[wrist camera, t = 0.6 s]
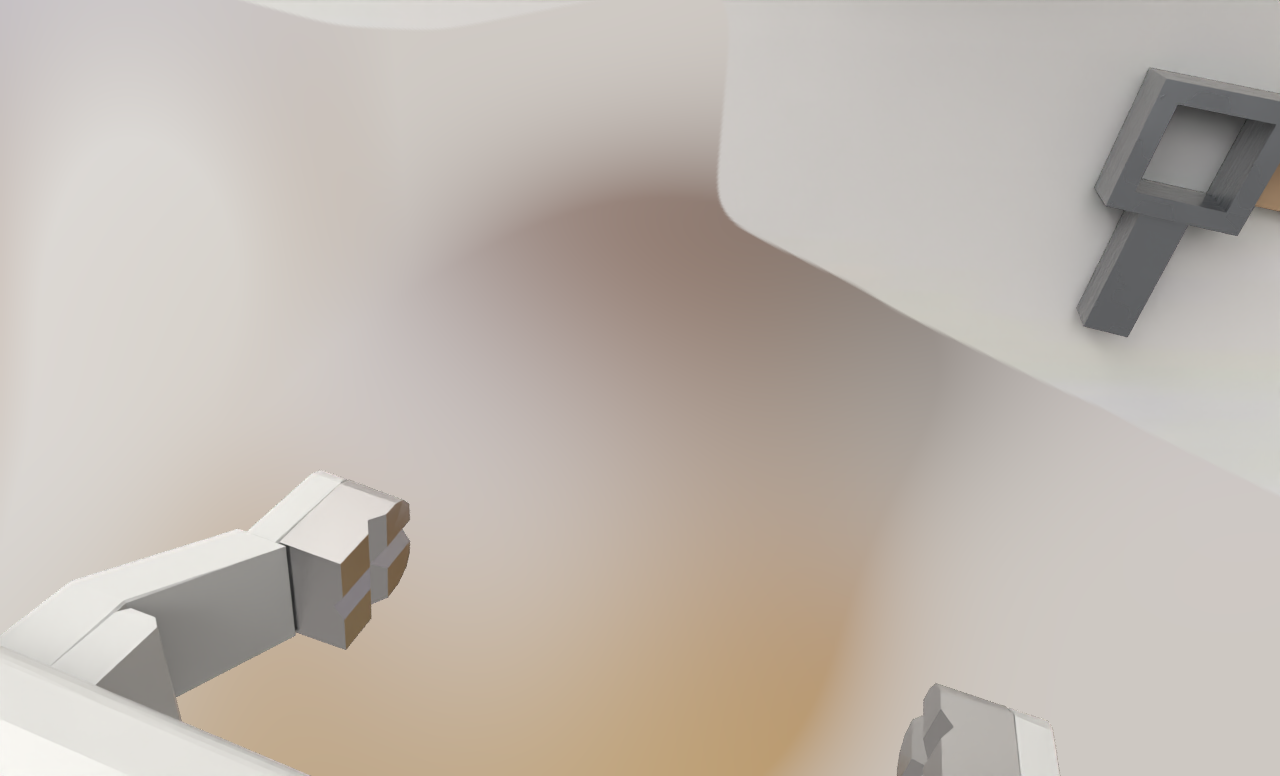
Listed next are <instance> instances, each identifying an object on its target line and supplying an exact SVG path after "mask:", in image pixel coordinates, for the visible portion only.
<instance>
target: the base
mask: <svg viewBox="0 0 1280 776" xmlns="http://www.w3.org/2000/svg"><path fill="white" fill-rule="evenodd" d="M1255 206H1257V207H1262V208H1266V209H1271V210H1275V211H1280V163H1279V165H1278V167H1277V168H1276V170H1275V172H1274V174H1273V175H1272V177H1271V179H1270V180H1269V182H1268V184H1267V186H1266V187H1265V189H1264V191H1263V193H1262V194H1261V196H1260V198H1259V199H1258V201H1257V203H1256V205H1255Z"/></svg>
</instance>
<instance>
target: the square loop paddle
mask: <svg viewBox="0 0 1280 776" xmlns="http://www.w3.org/2000/svg"><path fill="white" fill-rule="evenodd" d="M1177 105H1183V106H1188V107H1193V108H1198V109H1203V110H1208V111H1212V112H1217V113H1222V114H1227V115H1232V116H1237V117H1242V118H1247V120H1246V122H1245V124H1244V125H1243V127H1242V129H1241V131H1240V133H1239V135H1238V136H1237V138H1236V140H1235V142H1234V144H1233V146H1232V148H1231V149H1230V151H1229V153H1228V155H1227V157H1226V159H1225V160H1224V162H1223V164H1222V166H1221V168H1220V170H1219V171H1218V173H1217V175H1216V177H1215V179H1214V181H1213V182H1212V184H1211V186H1210V188H1209V190H1208V192H1207V193H1204V192H1199V191H1195V190H1190V189H1186V188H1181V187H1177V186H1172V185H1168V184H1163V183H1158V182H1154V181H1149V180H1145V179H1141V178H1142V176H1143V174H1144V172H1145V170H1146V168H1147V166H1148V164H1149V162H1150V160H1151V158H1152V156H1153V154H1154V152H1155V150H1156V148H1157V146H1158V144H1159V142H1160V140H1161V138H1162V136H1163V134H1164V132H1165V130H1166V128H1167V126H1168V124H1169V122H1170V120H1171V118H1172V116H1173V114H1174V112H1175V110H1176V107H1177ZM1279 163H1280V93H1275V92H1270V91H1264V90H1259V89H1254V88H1249V87H1244V86H1239V85H1234V84H1229V83H1224V82H1219V81H1214V80H1209V79H1204V78H1199V77H1194V76H1189V75H1184V74H1179V73H1174V72H1169V71H1164V70H1159V69H1154V68H1149V70H1148V72H1147V74H1146V77H1145V79H1144V81H1143V83H1142V85H1141V87H1140V90H1139V92H1138V94H1137V96H1136V98H1135V100H1134V102H1133V105H1132V107H1131V109H1130V111H1129V113H1128V115H1127V118H1126V120H1125V122H1124V124H1123V126H1122V128H1121V130H1120V133H1119V135H1118V137H1117V139H1116V141H1115V143H1114V146H1113V148H1112V150H1111V152H1110V154H1109V156H1108V159H1107V161H1106V163H1105V165H1104V167H1103V169H1102V171H1101V174H1100V176H1099V178H1098V180H1097V182H1096V184H1095V187H1094V188H1095V190H1096V191H1097V193H1098V195H1099V196H1100V198H1101V199H1102V201H1103V203H1104V204H1105V206H1109V207H1113V208H1117V209H1122V210H1125V211H1124V213H1123V215H1122V217H1121V219H1120V221H1119V223H1118V225H1117V227H1116V229H1115V231H1114V233H1113V235H1112V237H1111V239H1110V241H1109V243H1108V245H1107V247H1106V249H1105V251H1104V253H1103V255H1102V257H1101V259H1100V261H1099V263H1098V265H1097V267H1096V270H1095V272H1094V274H1093V276H1092V278H1091V280H1090V282H1089V284H1088V286H1087V288H1086V290H1085V292H1084V294H1083V296H1082V298H1081V300H1080V302H1079V304H1078V306H1077V311H1078V313H1079V316H1080V318H1081V321H1082V323H1083V326H1085V327H1089V328H1093V329H1097V330H1101V331H1105V332H1109V333H1113V334H1117V335H1121V336H1124V337H1128V335H1129V334H1130V332H1131V330H1132V328H1133V326H1134V324H1135V322H1136V321H1137V319H1138V317H1139V315H1140V313H1141V311H1142V310H1143V308H1144V306H1145V304H1146V302H1147V300H1148V299H1149V297H1150V295H1151V293H1152V291H1153V289H1154V287H1155V286H1156V284H1157V282H1158V280H1159V278H1160V276H1161V275H1162V273H1163V271H1164V269H1165V267H1166V265H1167V263H1168V262H1169V260H1170V258H1171V256H1172V254H1173V252H1174V251H1175V249H1176V247H1177V245H1178V243H1179V241H1180V240H1181V238H1182V236H1183V234H1184V232H1185V230H1186V228H1187V227H1188V225H1191V226H1196V227H1200V228H1204V229H1209V230H1213V231H1218V232H1222V233H1226V234H1231V235H1235V236H1238V234H1239V232H1240V230H1241V229H1242V227H1243V225H1244V223H1245V222H1246V220H1247V218H1248V217H1249V215H1250V213H1251V211H1252V210H1253V208H1254V206H1255V205H1256V203H1257V201H1258V199H1259V198H1260V196H1261V194H1262V193H1263V191H1264V189H1265V187H1266V186H1267V184H1268V182H1269V180H1270V179H1271V177H1272V175H1273V174H1274V172H1275V170H1276V168H1277V167H1278V165H1279Z"/></svg>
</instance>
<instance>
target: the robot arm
mask: <svg viewBox="0 0 1280 776" xmlns="http://www.w3.org/2000/svg"><path fill="white" fill-rule="evenodd" d="M409 520H410V514H409V503H407V502H406V501H404V500H402V499H399V498H396V497H394V496H391V495H388V494H386V493H383V492H381V491H378V490H375V489H373V488H370V487H367V486H365V485H362V484H359V483H357V482H354V481H351V480H347V479H345V478H342V477H339V476H337V475H334V474H331V473H329V472H326V471H323V470H320V471H317V472H314V473H312V474H310V475H309V476H308V477H307V478H306V479H305V480H304V481H303V482H301V483H300V485H298V486H297V487H296V488H295V489H294V490H293V491H291V492H290V493H289V494H288V495H287V496H286V497H285V498H284V499H283V500H281V501H280V502H279V503H278V504H277V505H276V506H275V507H274V508H273V509H271V510H270V511H269V512H268V513H267V514H266V515H265V516H263V517H262V518H261V519H260V520H259V521H258V522H257V523H256V524H255V525H253V526H252V527H251V528H250V529H249V530H248V531H247V532H246V531H243V530H240V529H236V530H233V531H230V532H226V533H224V534H220V535H217V536H214V537H210V538H207V539H204V540H201V541H198V542H194V543H191V544H188V545H185V546H181V547H178V548H175V549H172V550H169V551H166V552H162V553H159V554H156V555H152V556H149V557H146V558H143V559H140V560H137V561H134V562H130V563H127V564H124V565H120V566H117V567H114V568H111V569H108V570H104V571H101V572H98V573H95V574H91V575H89V576H85V577H82V578H79V579H75V580H72V581H70V582H69V583H68V584H66V585H65V586H64V587H62V588H61V589H60V590H58V591H57V592H56V593H55V594H53V595H52V596H51V597H49V598H48V599H47V600H45V601H44V602H43V603H41V604H40V605H39V606H38V607H36V608H35V609H34V610H33V611H31V612H30V613H28V614H27V615H26V616H25V617H23V618H22V619H21V620H19V621H18V622H17V623H16V624H14V625H13V626H12V627H10V628H9V629H8V630H6V631H5V632H4V633H2V634H1V635H0V776H310V775H308V774H306V773H303V772H301V771H298V770H296V769H294V768H291V767H289V766H287V765H284V764H282V763H279V762H277V761H275V760H272V759H270V758H268V757H265V756H263V755H260V754H258V753H256V752H253V751H251V750H248V749H246V748H243V747H241V746H239V745H236V744H234V743H232V742H229V741H227V740H225V739H222V738H220V737H218V736H215V735H212V734H210V733H208V732H206V731H203V730H201V729H198V728H196V727H194V726H191V725H189V724H187V723H184V722H182V720H181V716H180V712H179V708H178V704H177V700H176V697H178V696H180V695H182V694H184V693H185V692H187V691H189V690H191V689H193V688H195V687H197V686H199V685H201V684H203V683H205V682H207V681H209V680H210V679H213V678H214V677H216V676H218V675H220V674H222V673H224V672H226V671H228V670H230V669H232V668H234V667H236V666H238V665H240V664H241V663H243V662H245V661H247V660H249V659H251V658H253V657H255V656H257V655H259V654H261V653H263V652H265V651H267V650H269V649H270V648H272V647H274V646H276V645H278V644H280V643H282V642H284V641H286V640H288V639H290V638H292V637H294V636H295V634H296V633H299V634H302V635H305V636H308V637H311V638H313V639H316V640H319V641H322V642H325V643H328V644H331V645H333V646H336V647H339V648H342V649H345V650H346V649H347V648H348V647H349V646H350V644H351V643H352V642H353V640H354V639H355V638H356V637H357V636H358V634H359V633H360V631H362V629H363V628H364V627H365V625H366V624H367V623H368V622H369V620H370V619H371V604H373V603H376V602H378V601H380V600H383V599H385V598H388V596H389V595H390V594H391V593H392V591H393V590H394V589H395V587H396V586H397V585H398V583H399V581H400V579H401V577H402V575H403V573H404V570H405V569H406V566H407V562H408V558H409V553H410V540H409V539H408V537H407V536H406V534H405V533H404V531H403V529H402V528H403V527H404V526H405V525H406V524H407V523H408V521H409ZM295 632H296V633H295ZM923 706H924V708H923V716H920V717H918V718H915V719H913V720H912V722H911V724H910V726H909V728H908V730H907V732H906V734H905V736H904V740H903V743H902V746H901V750H900V754H899V760H898V767H897V776H1060V770H1059V764H1058V758H1057V752H1056V745H1055V740H1054V734H1053V728H1052V727H1051V725H1050V723H1049V722H1048V721H1047V720H1044V719H1041V718H1038V717H1035V716H1032V715H1029V714H1026V713H1023V712H1020V711H1017V710H1014V709H1011V708H1009V709H1008V708H1007V707H1005V706H1003V705H999V704H996V703H994V702H991V701H988V700H984V699H982V698H979V697H976V696H973V695H970V694H967V693H964V692H961V691H958V690H955V689H952V688H949V687H946V686H943V685H940V684H934V685H933V686H932V687H931V688H930V689H929V691H928V693H927V694H926V696H925V698H924V705H923Z"/></svg>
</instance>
